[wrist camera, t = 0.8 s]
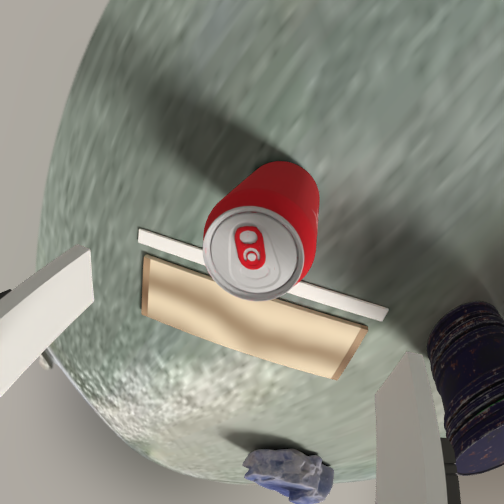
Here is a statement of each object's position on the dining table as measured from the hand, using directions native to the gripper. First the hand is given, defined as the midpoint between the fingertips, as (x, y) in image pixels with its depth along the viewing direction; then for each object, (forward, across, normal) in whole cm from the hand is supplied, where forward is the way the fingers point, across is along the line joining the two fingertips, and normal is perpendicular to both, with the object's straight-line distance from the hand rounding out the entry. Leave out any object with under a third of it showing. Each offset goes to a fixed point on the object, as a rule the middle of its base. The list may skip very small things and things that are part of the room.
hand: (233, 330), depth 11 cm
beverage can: (+17, -1, 0) cm, 17 cm away
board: (+17, -1, -14) cm, 22 cm away
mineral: (+17, +13, -40) cm, 45 cm away
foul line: (+17, -1, -8) cm, 18 cm away
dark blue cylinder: (+17, +23, -8) cm, 30 cm away
